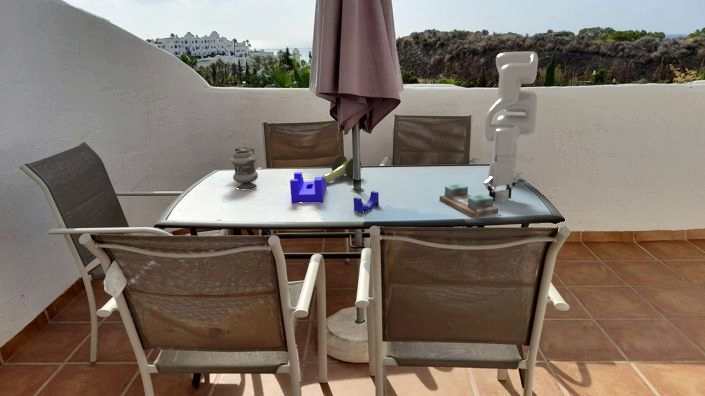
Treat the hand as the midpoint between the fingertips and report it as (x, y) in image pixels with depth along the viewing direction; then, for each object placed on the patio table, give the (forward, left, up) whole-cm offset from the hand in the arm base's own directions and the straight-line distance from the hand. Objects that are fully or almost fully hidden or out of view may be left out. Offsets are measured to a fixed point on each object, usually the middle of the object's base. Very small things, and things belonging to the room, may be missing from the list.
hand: (499, 198), depth 196 cm
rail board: (+16, 0, -1) cm, 16 cm away
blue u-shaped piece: (+53, -16, -1) cm, 56 cm away
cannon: (+50, -64, -1) cm, 81 cm away
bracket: (+70, -45, -2) cm, 84 cm away
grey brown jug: (+92, -90, -1) cm, 129 cm away
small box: (0, 0, -1) cm, 1 cm away
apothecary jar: (+95, -73, -1) cm, 120 cm away
